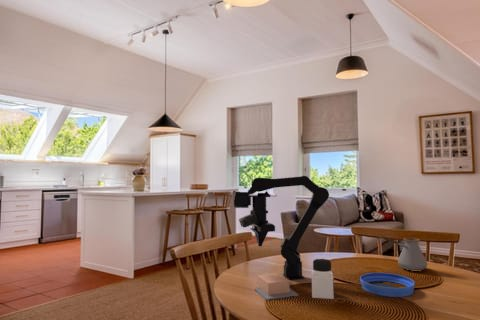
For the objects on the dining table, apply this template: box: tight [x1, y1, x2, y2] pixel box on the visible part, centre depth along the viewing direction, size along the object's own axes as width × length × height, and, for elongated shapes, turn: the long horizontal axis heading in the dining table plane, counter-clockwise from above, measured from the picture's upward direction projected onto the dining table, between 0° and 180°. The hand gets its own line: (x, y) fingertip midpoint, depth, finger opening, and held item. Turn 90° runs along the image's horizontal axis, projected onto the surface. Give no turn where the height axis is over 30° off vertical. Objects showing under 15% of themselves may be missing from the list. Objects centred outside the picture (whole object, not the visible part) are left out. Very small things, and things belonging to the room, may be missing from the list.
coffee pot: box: [378, 235, 428, 270], centre depth 147 cm, size 21×12×15 cm, turn 104°
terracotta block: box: [257, 272, 291, 295], centre depth 124 cm, size 8×4×10 cm
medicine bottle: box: [311, 258, 335, 300], centre depth 118 cm, size 7×7×12 cm
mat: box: [254, 287, 300, 301], centre depth 121 cm, size 12×11×1 cm
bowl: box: [359, 272, 416, 298], centre depth 124 cm, size 18×18×4 cm
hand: (259, 246), depth 142 cm, fingers closed
